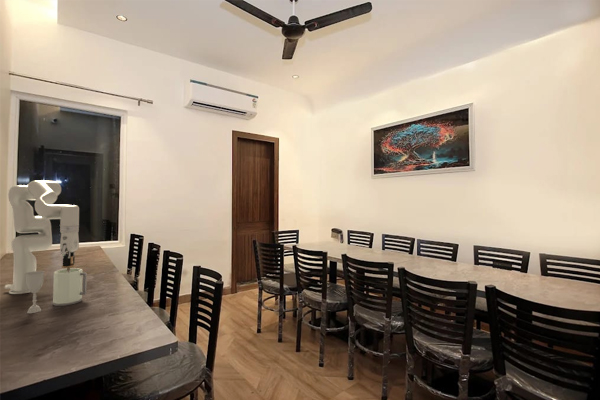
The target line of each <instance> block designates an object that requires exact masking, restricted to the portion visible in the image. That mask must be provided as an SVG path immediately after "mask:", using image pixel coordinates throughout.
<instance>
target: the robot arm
mask: <svg viewBox="0 0 600 400" xmlns="http://www.w3.org/2000/svg"><path fill="white" fill-rule="evenodd" d="M61 193H62V186H61V184H60V183H58V181H55V180H43V179H41V180H32V181H30V182H29V183H28V184H27V185H25V184H23V185H22V184H19V185H13V186H11V187H10V188H9V189H8V194H7V195H8V201H9V202H10V203H9V204H10V206H11V208H12V214H13V226H14V227H13V228H14V231H15V232H17V233H19V234H25V235H18V236H16V237H14V238H13V239H12V242H11V248H12V252H13V271H12V272H13V274H12V275H13V276H12V284H5V285H4V290H5V289H6V290H8V289H10V290H9V291H8V294H10V295H22V294H28V293H31V292H30V290H29V289H28V287H27V284H26V280H27V276H26V274H25V273H28V272H33V271H37V257H36V255H34V254H33V253H32V252H39V251H40V252H41V251H47V250H49V249H50V248H51V247H52V245H53V235H52V223H51V220H59V222H60V223H59V224H60V226H59V227H60V228H59V230H60V231H59V232H60V244H59V251H60V252H61V253H60V254H61V256H62V265H63V266H71V258H70V256H73V264H75V260H76V259H75V256H76V251H78V250H79V248H80V241H79V240H80V238H79V230H80V229H79V228H80V207H79V206H78V205H75V204H73V205H72V204H54V203H55V202H56V201H57V200H58V196H59V195H60V194H61ZM28 201H34V207H33V206H32V205H31V204H30V203H29V202H28ZM34 211H35V212H36V213H37V215H34V214H35V213H34ZM29 233H36V234H29ZM37 233H38V234H37Z"/></svg>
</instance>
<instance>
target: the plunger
mask: <svg viewBox="0 0 600 400" xmlns="http://www.w3.org/2000/svg"><path fill="white" fill-rule="evenodd" d="M70 258H71V266H63V264H62V265H61V269H67V273H70V269H73V268H76V263H74V264H73V256H70Z"/></svg>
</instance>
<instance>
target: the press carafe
mask: <svg viewBox="0 0 600 400" xmlns="http://www.w3.org/2000/svg"><path fill="white" fill-rule="evenodd" d="M87 277H88V273H87V272H83V268H78V267H77V268H76V267H72V268H70V273H67V268H62V269H59V270H56V271H53V287H52V288H53V289H52V290H53V291H52V306H54V307H55V306H56V307H65V306H71V305H75V304H79V303H80V302H82V301H83V296H84V295H86V294H87V279H88V278H87Z"/></svg>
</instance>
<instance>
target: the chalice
mask: <svg viewBox="0 0 600 400" xmlns="http://www.w3.org/2000/svg"><path fill="white" fill-rule="evenodd" d="M45 272H46V271H45V270H36V271H33V272H28V273H25V274H26V276H27V280H26V284H27V287H28V289H29V290H30V293H32V295H33V296H32V300H31V301H32V303H33V304H32V305H31V306H29V308H28V309H27V312H26V313H27V314H36V313H39V312H41V311H42V308H40V306H39V305H37V301H38V300H37V298H38V296H37V293H38V292H39V291H40V290H41V288H42V286H43V284H44V275H45Z"/></svg>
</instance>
